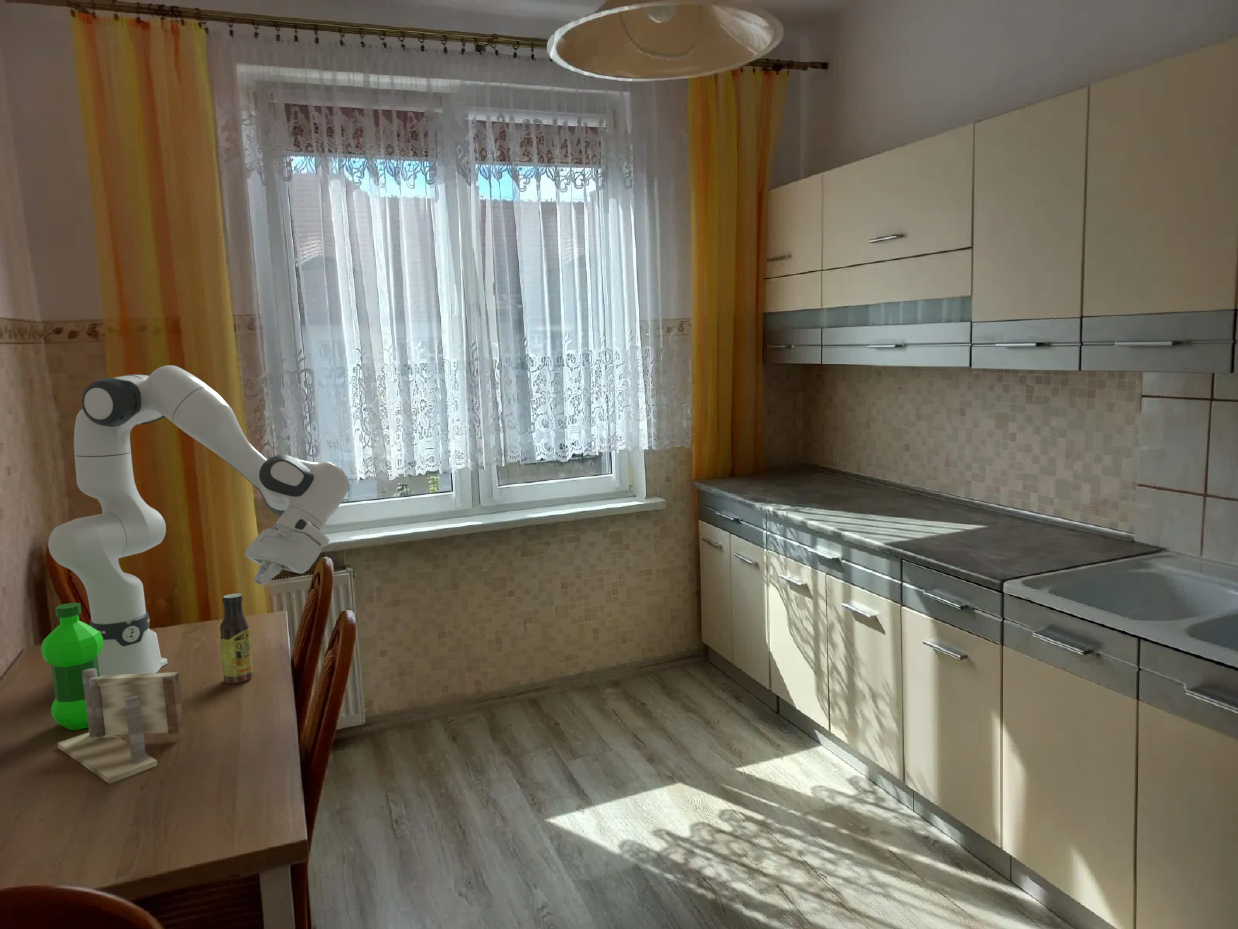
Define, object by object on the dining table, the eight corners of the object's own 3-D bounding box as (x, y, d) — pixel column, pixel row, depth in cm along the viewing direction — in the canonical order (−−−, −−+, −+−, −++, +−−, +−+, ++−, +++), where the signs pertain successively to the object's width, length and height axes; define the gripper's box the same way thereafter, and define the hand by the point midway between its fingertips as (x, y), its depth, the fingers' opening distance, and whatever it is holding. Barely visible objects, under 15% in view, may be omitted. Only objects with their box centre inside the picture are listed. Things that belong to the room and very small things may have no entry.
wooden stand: (58, 747, 161) (49, 678, 159) (103, 732, 167) (95, 665, 166) (109, 784, 146) (100, 707, 145) (157, 765, 153) (149, 692, 151)
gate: (93, 737, 162) (86, 679, 160) (99, 732, 164) (92, 675, 162) (178, 733, 162) (172, 676, 160) (183, 729, 164) (177, 672, 162)
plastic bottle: (76, 713, 177) (62, 598, 174) (123, 714, 176) (109, 598, 173) (39, 735, 167) (23, 613, 164) (88, 735, 166) (73, 613, 163)
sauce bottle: (242, 685, 189) (234, 600, 187) (217, 684, 191) (209, 599, 188) (259, 674, 196) (252, 592, 193) (236, 673, 197) (228, 591, 194)
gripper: (262, 516, 187) (223, 569, 180) (313, 525, 174) (273, 581, 168) (282, 532, 191) (245, 584, 185) (334, 541, 178) (296, 598, 172)
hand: (259, 583), depth 176 cm, fingers closed
